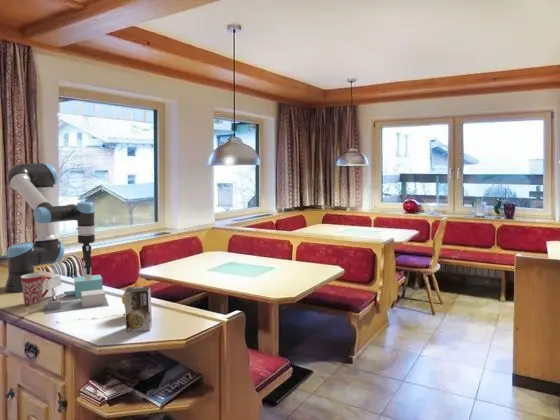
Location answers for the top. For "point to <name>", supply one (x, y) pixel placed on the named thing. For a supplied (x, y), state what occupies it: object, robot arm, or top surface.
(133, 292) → the cookie box
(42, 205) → the robot arm
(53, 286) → the grey flat angled piece
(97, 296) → the housing
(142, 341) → the top surface
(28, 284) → the mug
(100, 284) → the cover
